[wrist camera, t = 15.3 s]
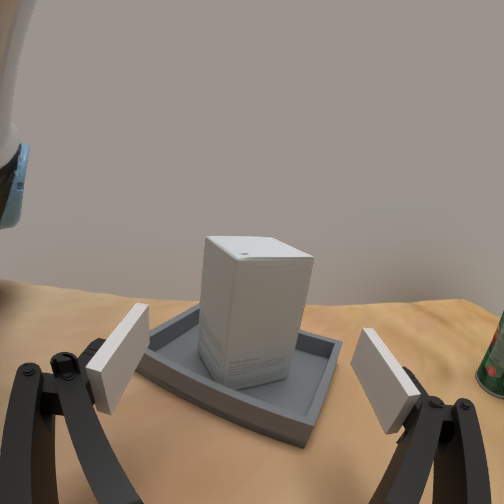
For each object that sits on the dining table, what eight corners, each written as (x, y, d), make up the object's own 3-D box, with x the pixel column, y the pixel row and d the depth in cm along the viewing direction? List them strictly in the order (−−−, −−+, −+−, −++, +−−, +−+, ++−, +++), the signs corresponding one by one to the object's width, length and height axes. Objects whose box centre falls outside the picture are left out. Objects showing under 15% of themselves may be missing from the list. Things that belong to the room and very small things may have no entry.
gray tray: (130, 367, 25) (127, 343, 24) (204, 319, 37) (206, 299, 36) (303, 448, 18) (313, 425, 17) (335, 362, 30) (342, 341, 30)
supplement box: (290, 379, 26) (318, 257, 23) (219, 394, 22) (234, 257, 19) (256, 341, 32) (273, 235, 29) (195, 349, 29) (203, 233, 26)
